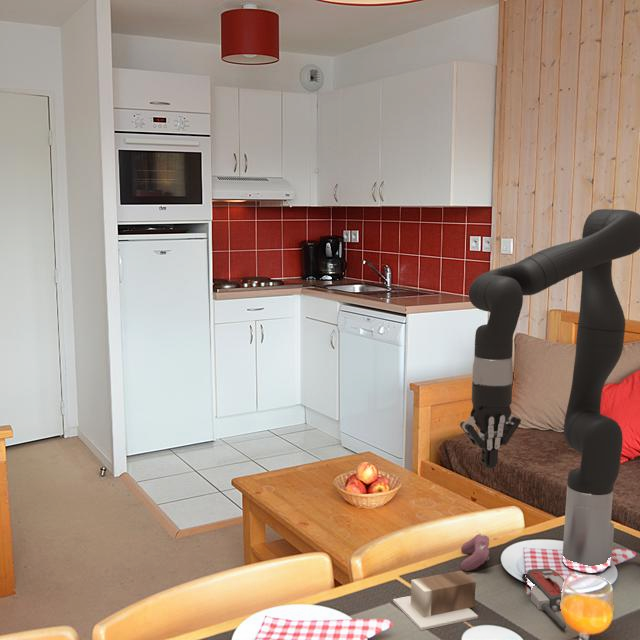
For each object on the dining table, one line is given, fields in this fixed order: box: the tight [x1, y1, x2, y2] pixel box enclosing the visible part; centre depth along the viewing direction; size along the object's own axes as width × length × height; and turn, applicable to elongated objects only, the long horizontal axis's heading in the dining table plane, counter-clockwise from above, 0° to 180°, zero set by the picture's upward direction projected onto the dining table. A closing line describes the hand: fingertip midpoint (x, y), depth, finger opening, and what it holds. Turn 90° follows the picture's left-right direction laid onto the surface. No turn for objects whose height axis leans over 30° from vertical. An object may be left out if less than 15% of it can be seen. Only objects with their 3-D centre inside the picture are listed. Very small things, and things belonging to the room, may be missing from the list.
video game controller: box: [460, 533, 490, 572], centre depth 169 cm, size 10×5×7 cm, turn 169°
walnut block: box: [410, 570, 477, 617], centre depth 150 cm, size 5×5×11 cm
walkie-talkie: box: [521, 567, 567, 630], centre depth 153 cm, size 9×4×20 cm
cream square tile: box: [392, 595, 479, 631], centre depth 150 cm, size 12×11×1 cm
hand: (489, 466), depth 154 cm, fingers closed
